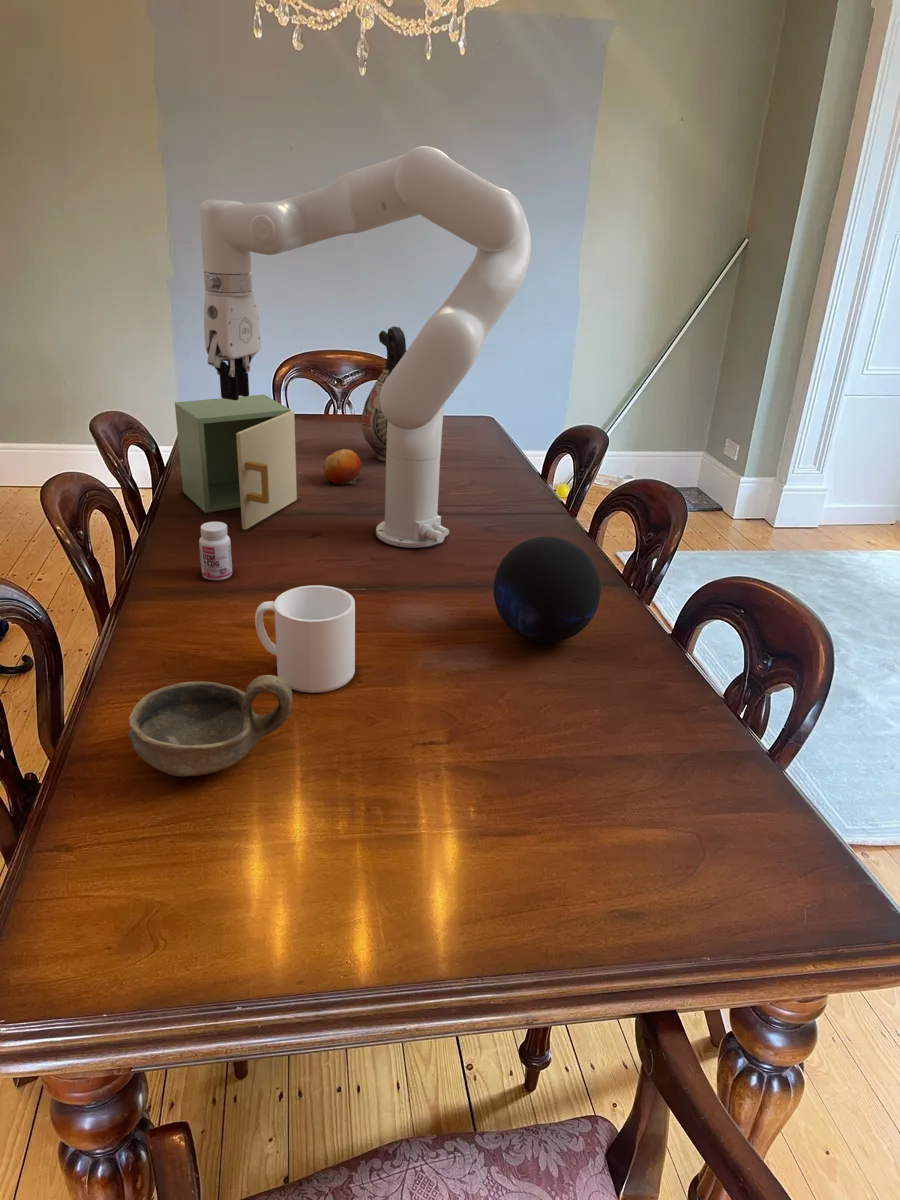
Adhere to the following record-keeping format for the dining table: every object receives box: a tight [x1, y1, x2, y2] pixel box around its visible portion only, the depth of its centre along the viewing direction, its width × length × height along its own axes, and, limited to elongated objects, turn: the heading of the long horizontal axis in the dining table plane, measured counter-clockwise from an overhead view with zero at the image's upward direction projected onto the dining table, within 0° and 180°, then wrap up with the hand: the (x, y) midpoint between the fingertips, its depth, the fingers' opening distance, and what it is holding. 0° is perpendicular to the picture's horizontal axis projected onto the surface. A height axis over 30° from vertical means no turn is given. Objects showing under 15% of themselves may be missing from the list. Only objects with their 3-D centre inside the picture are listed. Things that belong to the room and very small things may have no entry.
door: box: [236, 410, 298, 531], centre depth 153 cm, size 5×18×18 cm, turn 159°
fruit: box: [322, 448, 362, 486], centre depth 176 cm, size 8×8×8 cm
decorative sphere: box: [493, 536, 602, 644], centre depth 118 cm, size 15×15×15 cm
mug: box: [254, 584, 356, 694], centre depth 107 cm, size 13×10×10 cm
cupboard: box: [174, 394, 292, 514], centre depth 162 cm, size 13×18×18 cm
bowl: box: [127, 674, 294, 777], centre depth 90 cm, size 14×18×10 cm
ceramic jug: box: [361, 326, 407, 462], centre depth 187 cm, size 17×15×30 cm
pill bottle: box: [198, 521, 233, 581], centre depth 132 cm, size 5×5×8 cm
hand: (235, 396), depth 144 cm, fingers closed
